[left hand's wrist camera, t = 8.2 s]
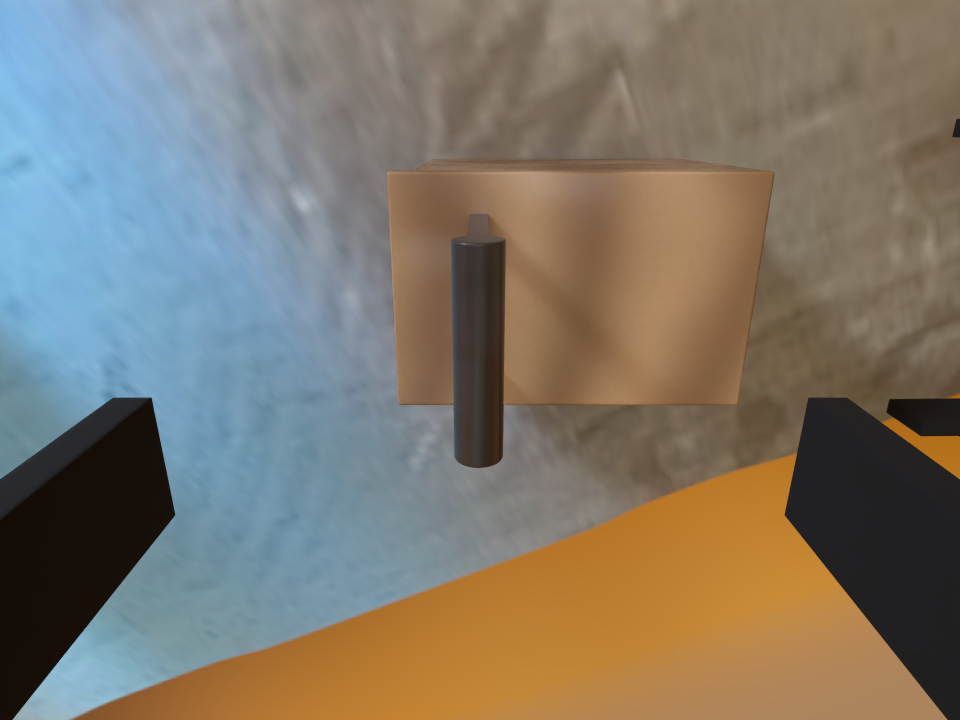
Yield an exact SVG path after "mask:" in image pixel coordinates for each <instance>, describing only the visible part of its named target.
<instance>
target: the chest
mask: <svg viewBox="0 0 960 720" xmlns="http://www.w3.org/2000/svg"><path fill="white" fill-rule="evenodd" d="M415 170H757V169H750V168H742V167H735V166H727V165H720V164H713V163H705V162H698V161H690V160H683V159H433V160H431V161H429V162H427V163H426V164H424V165H422V166H420V167H419V168H417V169H415Z"/></svg>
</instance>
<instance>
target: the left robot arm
mask: <svg viewBox="0 0 960 720" xmlns="http://www.w3.org/2000/svg"><path fill="white" fill-rule="evenodd" d="M174 516H175V511H174V506H173V501H172V496H171V491H170V486H169V481H168V477H167V472H166V467H165V462H164V457H163V452H162V447H161V442H160V437H159V432H158V427H157V422H156V417H155V413H154V408H153V403H152V398H112V399H111V400H109V401H108V402H107V403H105V404H104V405H102V406H101V407H100V408H98V409H97V410H96V411H94V412H93V413H91V414H90V415H89V416H87V417H86V418H84V419H83V420H82V421H80V422H79V423H78V424H76V425H75V426H73V427H72V428H71V429H69V430H68V431H67V432H65V433H64V434H62V435H61V436H60V437H58V438H57V439H55V440H54V441H53V442H51V443H50V444H49V445H47V446H46V447H44V448H43V449H42V450H40V451H39V452H38V453H36V454H35V455H33V456H32V457H31V458H29V459H28V460H26V461H25V462H24V463H22V464H21V465H20V466H18V467H17V468H15V469H14V470H13V471H11V472H10V473H9V474H7V475H6V476H4V477H3V478H2V479H0V720H13V718H14V717H15V716H16V715H17V713H18V712H19V711H20V710H21V708H22V707H23V706H24V704H25V703H26V702H27V701H28V699H29V698H30V697H31V696H32V694H33V693H34V692H35V691H36V689H37V688H38V687H39V686H40V684H41V683H42V682H43V681H44V679H45V678H46V677H47V676H48V674H49V673H50V672H51V671H52V669H53V668H54V667H55V666H56V664H57V663H58V662H59V661H60V659H61V658H62V657H63V656H64V654H65V653H66V652H67V650H68V649H69V648H70V647H71V645H72V644H73V643H74V642H75V640H76V639H77V638H78V637H79V635H80V634H81V633H82V632H83V630H84V629H85V628H86V627H87V625H88V624H89V623H90V622H91V620H92V619H93V618H94V617H95V615H96V614H97V613H98V612H99V610H100V609H101V608H102V607H103V605H104V604H105V603H106V601H107V600H108V599H109V598H110V596H111V595H112V594H113V593H114V591H115V590H116V589H117V588H118V586H119V585H120V584H121V583H122V581H123V580H124V579H125V578H126V576H127V575H128V574H129V573H130V571H131V570H132V569H133V568H134V566H135V565H136V564H137V563H138V561H139V560H140V559H141V558H142V556H143V555H144V554H145V552H146V551H147V550H148V549H149V547H150V546H151V545H152V544H153V542H154V541H155V540H156V539H157V537H158V536H159V535H160V534H161V532H162V531H163V530H164V529H165V527H166V526H167V525H168V524H169V522H170V521H171V520H172V519H173V517H174ZM785 516H786V517H787V519H788V520H789V521H790V522H791V524H792V525H793V526H794V527H795V529H796V530H797V531H798V532H799V534H800V535H801V536H802V537H803V539H804V540H805V541H806V542H807V544H808V545H809V546H810V547H811V549H812V550H813V551H814V552H815V554H816V555H817V556H818V557H819V559H820V560H821V561H822V562H823V564H824V565H825V566H826V568H827V569H828V570H829V571H830V573H831V574H832V575H833V576H834V578H835V579H836V580H837V581H838V583H839V584H840V585H841V586H842V588H843V589H844V590H845V591H846V593H847V594H848V595H849V596H850V598H851V599H852V600H853V601H854V603H855V604H856V605H857V607H858V608H859V609H860V610H861V612H862V613H863V614H864V615H865V617H866V618H867V619H868V620H869V622H870V623H871V624H872V625H873V627H874V628H875V629H876V630H877V632H878V633H879V634H880V635H881V637H882V638H883V639H884V640H885V642H886V643H887V644H888V645H889V647H890V648H891V649H892V650H893V652H894V653H895V654H896V656H897V657H898V658H899V659H900V661H901V662H902V663H903V664H904V666H905V667H906V668H907V669H908V671H909V672H910V673H911V674H912V676H913V677H914V678H915V679H916V681H917V682H918V683H919V684H920V686H921V687H922V688H923V689H924V691H925V692H926V693H927V694H928V696H929V697H930V698H931V699H932V701H933V702H934V703H935V704H936V706H937V707H938V708H939V709H940V711H941V712H942V713H943V715H944V716H945V717H946V718H947V720H960V479H958V478H957V477H956V476H954V475H953V474H951V473H950V472H949V471H947V470H946V469H945V468H943V467H942V466H940V465H939V464H938V463H936V462H935V461H933V460H932V459H931V458H929V457H928V456H927V455H925V454H924V453H922V452H921V451H920V450H918V449H917V448H916V447H914V446H913V445H911V444H910V443H909V442H907V441H906V440H905V439H903V438H902V437H900V436H899V435H898V434H896V433H895V432H893V431H892V430H891V429H889V428H888V427H887V426H885V425H884V424H882V423H881V422H880V421H878V420H877V419H876V418H874V417H873V416H871V415H870V414H869V413H867V412H866V411H864V410H863V409H862V408H860V407H859V406H858V405H856V404H855V403H853V402H852V401H851V400H849V399H848V398H808V403H807V408H806V413H805V417H804V422H803V427H802V432H801V437H800V442H799V447H798V452H797V457H796V462H795V467H794V472H793V477H792V481H791V487H790V491H789V496H788V501H787V506H786V511H785Z"/></svg>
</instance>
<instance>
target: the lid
mask: <svg viewBox="0 0 960 720" xmlns="http://www.w3.org/2000/svg"><path fill="white" fill-rule="evenodd" d="M773 180H774V172H772V171H764V170H392V171H390V172H387V187H388V206H389V226H390V246H391V266H392V285H393V305H394V325H395V344H396V364H397V384H398V403H399V404H400V405H454V453H455V458H456V460H457V461H458V462H459V463H461V464H462V465H465V466H468V467H474V468H483V467H489V466H493V465H495V464H497V463H498V462H500V460H501V459H502V457H503V411H504V405H737V404H738V399H739V393H740V386H741V380H742V374H743V368H744V361H745V355H746V349H747V343H748V336H749V330H750V324H751V318H752V311H753V305H754V299H755V293H756V286H757V280H758V274H759V267H760V261H761V255H762V249H763V242H764V236H765V230H766V224H767V217H768V211H769V205H770V199H771V192H772V186H773Z"/></svg>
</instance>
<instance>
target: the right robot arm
mask: <svg viewBox="0 0 960 720" xmlns="http://www.w3.org/2000/svg"><path fill="white" fill-rule="evenodd" d="M952 137H960V119H957V120H956V124H955V128H954V132H953V136H952ZM887 413H888V414H890V415H891V416H892V417H894V418H895V419H897V420H898V421H900V422H901V423H903V424H904V425H906V426H907V427H908V428H910V429H911V430H913V431H914V432H916V433H917V434H919V435H920V436H960V398H959V399H890V400H889V404H888V408H887Z"/></svg>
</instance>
